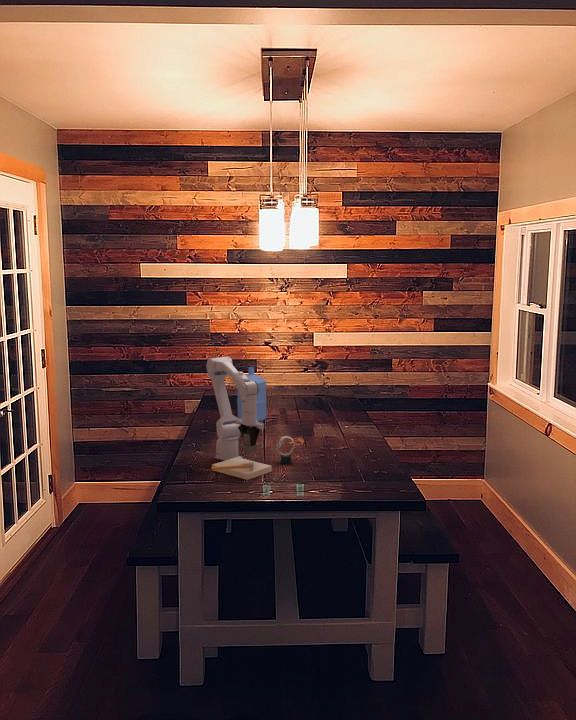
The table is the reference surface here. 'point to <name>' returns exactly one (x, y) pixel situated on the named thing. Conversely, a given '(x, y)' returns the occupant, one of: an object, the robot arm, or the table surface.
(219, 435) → the robot arm
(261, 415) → the water jug
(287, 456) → the watch
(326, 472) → the table surface
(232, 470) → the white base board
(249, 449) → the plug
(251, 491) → the table surface
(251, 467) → the orange long bar
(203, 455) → the table surface
